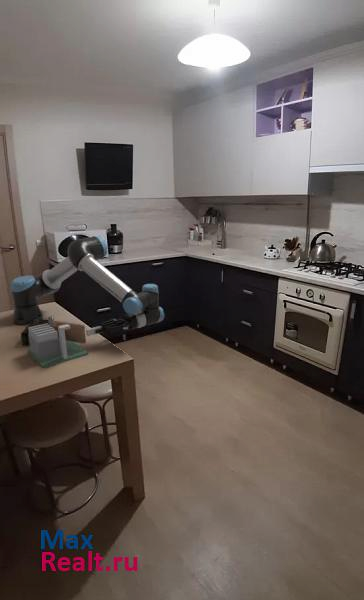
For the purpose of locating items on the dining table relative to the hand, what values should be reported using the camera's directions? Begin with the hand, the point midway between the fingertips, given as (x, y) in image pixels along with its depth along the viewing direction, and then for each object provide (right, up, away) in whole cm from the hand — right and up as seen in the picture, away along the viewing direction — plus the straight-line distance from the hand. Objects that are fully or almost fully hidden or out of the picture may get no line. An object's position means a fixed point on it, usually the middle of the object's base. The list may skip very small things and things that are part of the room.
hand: (87, 332), depth 153 cm
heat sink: (-13, -9, -1) cm, 15 cm away
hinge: (-9, -6, +3) cm, 11 cm away
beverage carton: (-28, -4, +16) cm, 33 cm away
